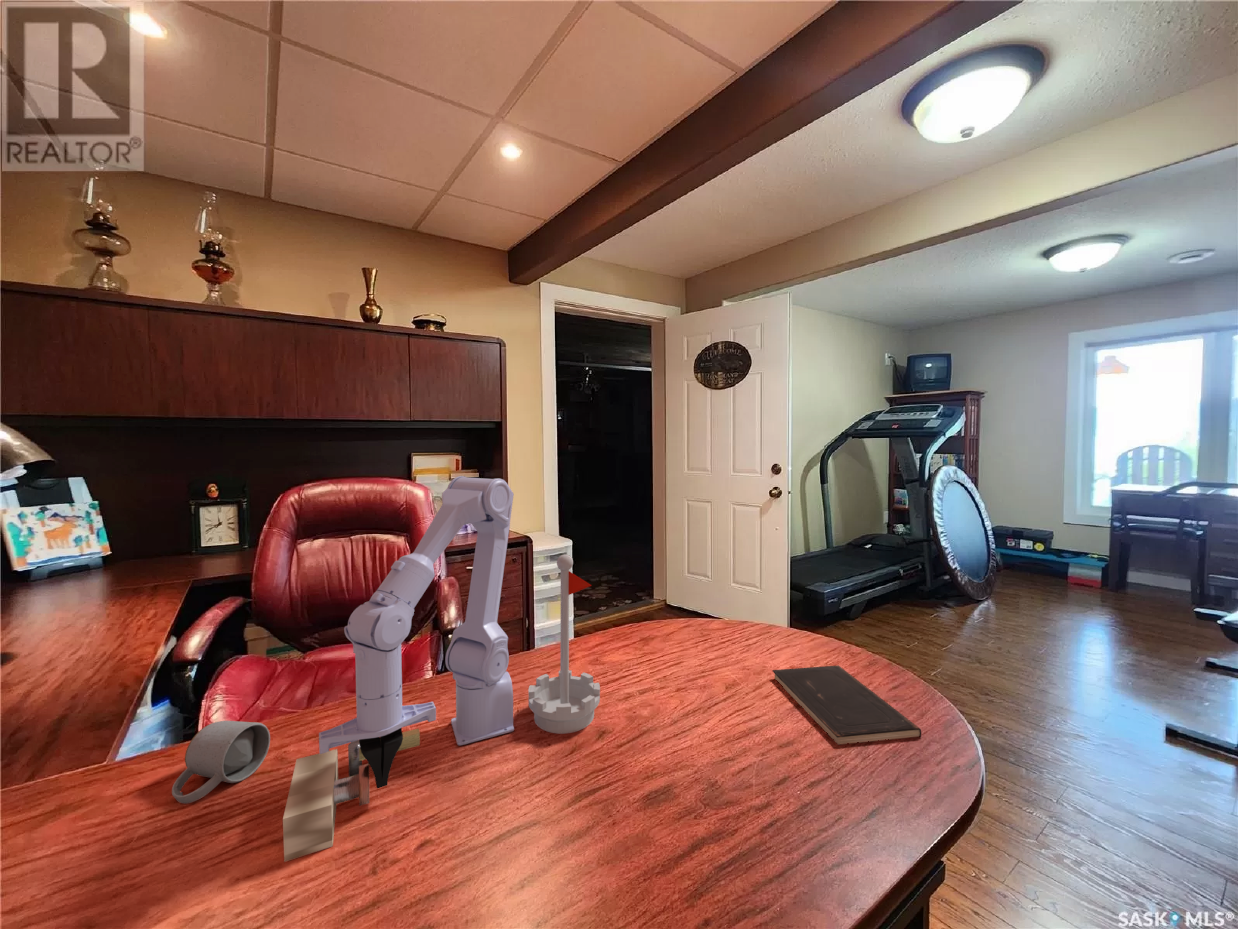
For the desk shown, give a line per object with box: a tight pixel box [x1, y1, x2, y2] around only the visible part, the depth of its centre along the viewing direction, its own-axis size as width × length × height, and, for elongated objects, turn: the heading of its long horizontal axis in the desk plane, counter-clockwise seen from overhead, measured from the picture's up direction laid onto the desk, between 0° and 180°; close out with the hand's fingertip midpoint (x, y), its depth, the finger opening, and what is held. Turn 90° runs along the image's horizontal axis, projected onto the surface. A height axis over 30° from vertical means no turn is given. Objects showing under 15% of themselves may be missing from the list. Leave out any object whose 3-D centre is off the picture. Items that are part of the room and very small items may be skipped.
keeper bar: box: [347, 728, 421, 777], centre depth 75 cm, size 10×2×5 cm, turn 117°
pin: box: [334, 762, 370, 807], centre depth 66 cm, size 8×5×5 cm, turn 117°
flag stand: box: [528, 554, 601, 735], centre depth 88 cm, size 13×13×30 cm
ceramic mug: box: [171, 720, 271, 805], centre depth 72 cm, size 11×8×8 cm
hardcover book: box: [772, 664, 922, 745], centre depth 94 cm, size 16×23×2 cm
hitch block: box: [282, 748, 339, 863], centre depth 64 cm, size 5×12×5 cm, turn 27°
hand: (381, 782), depth 68 cm, fingers closed
